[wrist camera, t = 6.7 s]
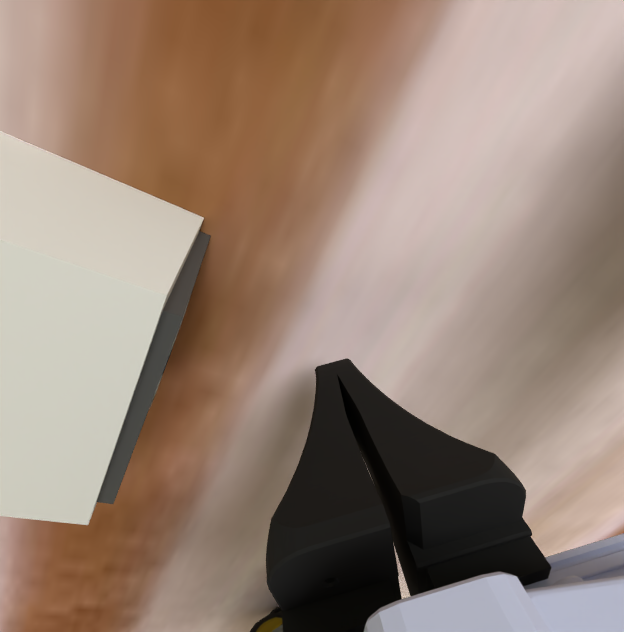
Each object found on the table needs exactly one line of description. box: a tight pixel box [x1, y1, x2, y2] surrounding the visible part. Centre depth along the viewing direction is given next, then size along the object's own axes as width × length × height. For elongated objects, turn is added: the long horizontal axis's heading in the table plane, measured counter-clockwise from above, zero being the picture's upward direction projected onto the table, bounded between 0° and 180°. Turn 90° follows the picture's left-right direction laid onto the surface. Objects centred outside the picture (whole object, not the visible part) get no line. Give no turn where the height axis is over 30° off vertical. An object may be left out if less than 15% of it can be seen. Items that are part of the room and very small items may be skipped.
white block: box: [0, 131, 210, 525], centre depth 9 cm, size 8×7×6 cm
